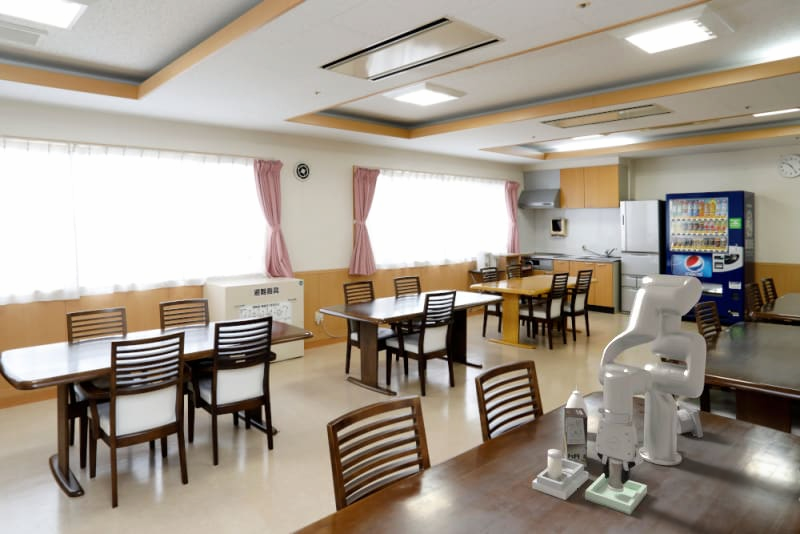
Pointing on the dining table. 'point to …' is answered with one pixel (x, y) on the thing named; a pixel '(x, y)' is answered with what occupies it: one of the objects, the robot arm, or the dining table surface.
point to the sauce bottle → (577, 401)
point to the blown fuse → (615, 475)
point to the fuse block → (560, 476)
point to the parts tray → (616, 495)
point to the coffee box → (575, 435)
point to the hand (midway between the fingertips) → (616, 478)
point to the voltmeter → (687, 420)
